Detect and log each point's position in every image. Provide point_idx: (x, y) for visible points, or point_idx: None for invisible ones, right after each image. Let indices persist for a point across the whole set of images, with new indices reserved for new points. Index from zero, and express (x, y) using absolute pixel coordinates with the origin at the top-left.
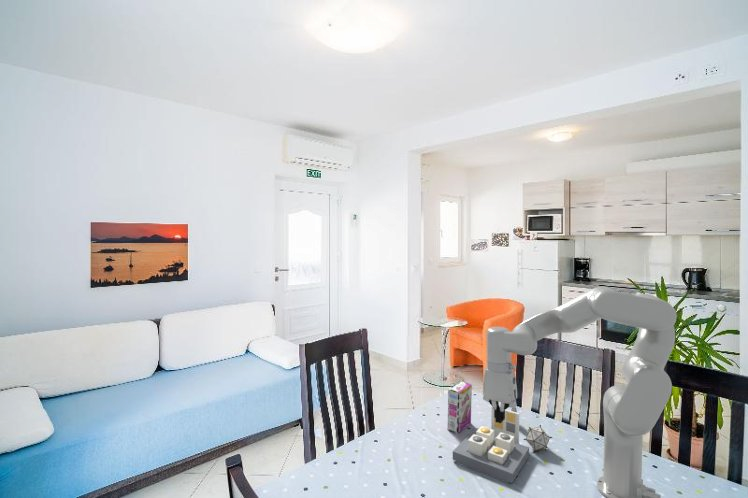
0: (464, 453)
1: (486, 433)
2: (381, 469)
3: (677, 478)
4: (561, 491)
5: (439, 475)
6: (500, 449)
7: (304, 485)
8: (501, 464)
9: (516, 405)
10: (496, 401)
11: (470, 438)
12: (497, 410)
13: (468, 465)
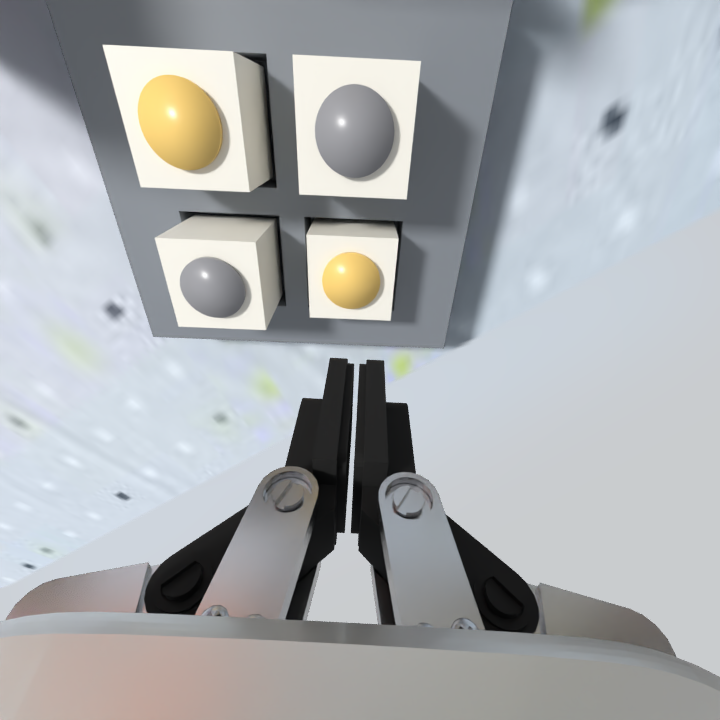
0: None
1: (214, 168)
2: (56, 464)
3: None
4: (631, 255)
5: (200, 406)
6: (360, 264)
7: (15, 563)
8: None
9: (660, 645)
10: (269, 578)
11: (177, 302)
12: (336, 533)
13: None
